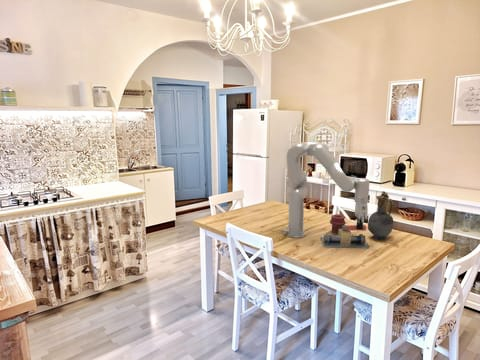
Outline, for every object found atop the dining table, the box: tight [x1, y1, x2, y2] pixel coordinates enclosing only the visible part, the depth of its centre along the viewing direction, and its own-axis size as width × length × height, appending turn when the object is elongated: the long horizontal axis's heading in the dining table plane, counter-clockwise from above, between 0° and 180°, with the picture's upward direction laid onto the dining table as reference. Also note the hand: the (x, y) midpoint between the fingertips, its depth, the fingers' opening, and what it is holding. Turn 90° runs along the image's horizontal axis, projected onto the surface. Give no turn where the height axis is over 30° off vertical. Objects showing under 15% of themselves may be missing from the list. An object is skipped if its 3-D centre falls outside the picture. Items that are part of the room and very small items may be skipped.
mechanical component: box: [329, 213, 347, 235], centre depth 212 cm, size 12×10×10 cm
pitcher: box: [367, 190, 394, 241], centre depth 202 cm, size 11×19×30 cm, turn 124°
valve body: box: [320, 229, 371, 249], centre depth 195 cm, size 26×14×8 cm, turn 87°
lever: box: [342, 224, 367, 232], centre depth 194 cm, size 14×3×3 cm, turn 93°
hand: (359, 229), depth 192 cm, fingers closed
